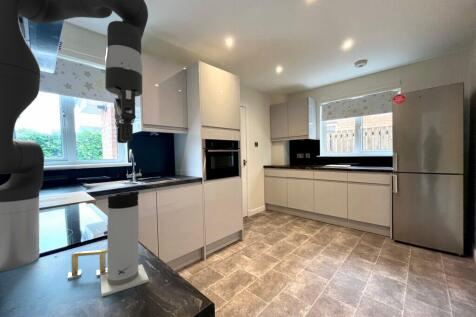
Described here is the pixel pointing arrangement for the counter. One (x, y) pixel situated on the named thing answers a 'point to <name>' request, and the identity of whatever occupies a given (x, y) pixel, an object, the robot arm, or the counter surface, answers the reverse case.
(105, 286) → the coaster
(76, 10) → the robot arm
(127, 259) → the travel mug
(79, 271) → the gold barrier railing
